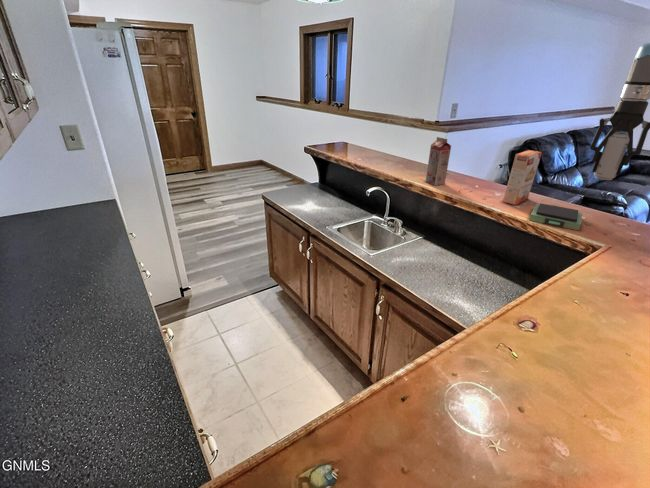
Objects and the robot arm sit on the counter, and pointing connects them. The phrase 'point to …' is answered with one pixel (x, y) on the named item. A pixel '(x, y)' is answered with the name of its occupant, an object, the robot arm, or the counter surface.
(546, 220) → the scale
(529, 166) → the cracker box
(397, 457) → the counter surface
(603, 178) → the energy drink can
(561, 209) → the scale pan
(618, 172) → the robot arm
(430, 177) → the juice carton
